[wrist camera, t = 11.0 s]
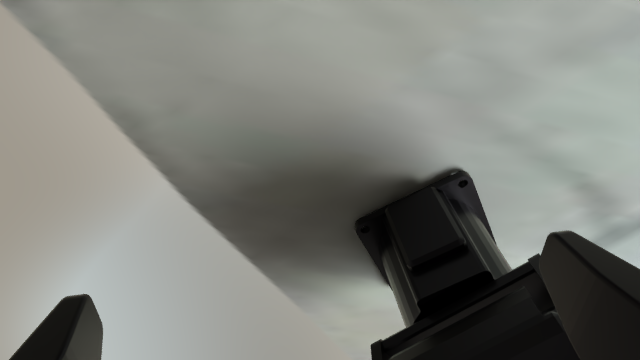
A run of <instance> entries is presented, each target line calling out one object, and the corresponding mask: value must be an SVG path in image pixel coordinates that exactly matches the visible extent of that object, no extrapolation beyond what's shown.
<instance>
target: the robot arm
mask: <svg viewBox="0 0 640 360" xmlns="http://www.w3.org/2000/svg"><path fill="white" fill-rule="evenodd" d="M461 180H464V181H463V182H462V183H459V182H460V181H461ZM364 226H367V227H366V228H362V227H364ZM355 230H356V233H357V235H358V236H359V238H360V240H361V241H362V243H363V244H364V246H365V248H366V249H367V251H368V252H369V254H370V256H371V257H372V259H373V260H374V262H375V264H376V265H377V267H378V268H379V270H380V272H381V273H382V275H383V276H384V278H385V280H386V281H387V283H388V284H389V286H390V288H391V289H392V291H393V293H394V296H395V298H396V301H397V304H398V307H399V309H400V312H401V315H402V318H403V320H404V323H405V326H406V328H405V329H403V330H401V331H399V332H397V333H395V334H394V335H392V336H390V337H388V338H386V339H384V340H381V339H380V340H378V341H377V342H375V343H373V344H371V355H372V360H640V269H639V268H637V267H635V266H633V265H631V264H630V263H628V262H626V261H624V260H623V259H621V258H619V257H617V256H615V255H614V254H612V253H610V252H608V251H607V250H605V249H603V248H601V247H599V246H598V245H596V244H594V243H592V242H590V241H589V240H587V239H585V238H583V237H582V236H580V235H578V234H576V233H574V232H572V231H559V232H552V233H550V234H549V235H548V237H547V239H546V242H545V245H544V248H543V251H542V254H541V256H540V254H539V253H538V254H537V255H535V256H533V257H531V258H529V259H528V262H526V263H525V264H523V265H521V266H519V267H517V268H515V269H513V270H512V269H511V267H510V266H509V264H508V263H507V261H506V260H505V258H504V256H503V255H502V253H501V252H500V250H499V249H498V247H497V245H496V242H495V239H494V237H493V234H492V231H491V229H490V226H489V223H488V220H487V218H486V215H485V212H484V210H483V207H482V204H481V202H480V199H479V196H478V193H477V191H476V188H475V185H474V183H473V180H472V178H471V177H470V175H469V174H468V173H467V172H465V171H460V172H457V173H455V174H453V175H451V176H449V177H447V178H445V179H443V180H440V181H438V182H436V183H434V184H432V185H430V186H428V187H426V188H424V189H421V190H419V191H417V192H415V193H413V194H411V195H409V196H407V197H405V198H403V199H400V200H398V201H396V202H394V203H392V204H390V205H388V206H386V207H384V208H381V209H379V210H377V211H375V212H373V213H371V214H369V215H367V216H365V217H362V218H360V219H359V220H357V221H356V223H355ZM102 340H103V327H102V322H101V319H100V317H99V315H98V312H97V310H96V308H95V305H94V303H93V301H92V299H91V297H90V296H89V295H87V294H82V295H74V296H67V297H65V298H63V299H62V300H61V301H60V302H59V303H58V304H57V306H56V307H55V308H54V309H53V310H52V311H51V312H50V313H49V315H48V316H47V317H46V318H45V319H44V320H43V322H42V323H41V324H40V325H39V326H38V327H37V328H36V330H35V331H34V332H33V333H32V334H31V335H30V336H29V338H28V339H27V340H26V341H25V342H24V343H23V344H22V345H21V347H20V348H19V349H18V350H17V351H16V352H15V353H14V355H13V356H12V357H11V358H10V359H9V360H101V354H102Z"/></svg>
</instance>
